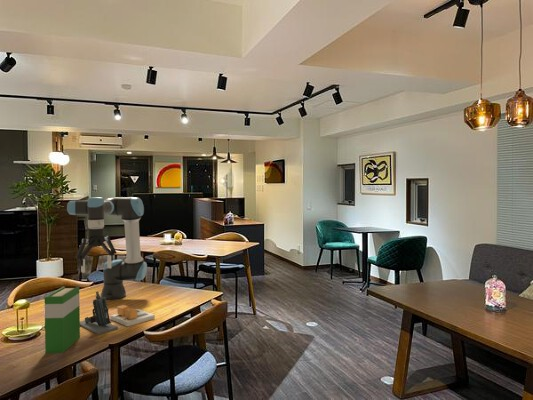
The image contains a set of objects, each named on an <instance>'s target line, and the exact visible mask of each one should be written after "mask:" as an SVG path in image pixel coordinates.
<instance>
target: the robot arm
mask: <svg viewBox="0 0 533 400" xmlns="http://www.w3.org/2000/svg"><path fill="white" fill-rule="evenodd" d="M144 206H145V205H144V204H143V200H142V199H141V198H140V197H134V196H127V197H125V196H124V197H123V196H120V197H119V196H117V197H108V198H104V197H102V196H101V197H98V196H97V197H94V196H93V197H88V198H87V200H69V201H68V203H67V204H66V211H67V213H68V215H71V216H72V215H73V216H87V228H88V229H87V236H88V237H87V238H82V239H81V242H80V245H79V247H78V250H77V251H76V254H75V256H74V258H75V259H78V263H79V264H78V265H79V266H80V273H83V274H84V273H86V259H85V257H86V256H87V254H88V253H89V251H90V250H91V249H92V248H93V247H94V248H98V247H101V248H102V249H103V250H104V251H105V252H106V253H107V254H108V255H106V256H107V257H106V258H107V260H106V262H104V264H103V270H102V272H103V276H102V277H103V286H102V289H101V292H100V297H101V298H103V297H105V299H106V300H116V299H117V300H119V299H122V298H124V297H126V296H127V291H126V288H125V286H124V281H134V282H135V281H136V282H137V281H143V279H144V278H145V277H146V275H147V270H148V269H147V268H148V264H147V262H146V261H144V258H143V257H142V255H141V239H140V220H141V218H142V216H143V215H144V213H145V207H144ZM105 215H106V216H107V215H109V216H118V217H120V218H121V220H122V221H123V222H124V235H125V236H124V239H125V249H126V250H125V252H126V258H125V259H124V260H123V259H114V258H113V257H114V256H115V254H117V250H116V248H115V247H114V245H113V243H112V240H111V237H110V236H108V235H107V236H105V228H104V227H105ZM104 241H105V242H106V243H107V245H106V244H105V243H104ZM87 243H88V244H87ZM86 244H87V245H86Z"/></svg>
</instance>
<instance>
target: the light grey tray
mask: <svg viewBox="0 0 533 400" xmlns="http://www.w3.org/2000/svg"><path fill="white" fill-rule="evenodd" d="M135 309H136V310H137V318H133V319H128V318H126V317H125V315H124V316H121V315H119V314H117V313H115V314H109V318H110V321H111V320H112V321H113V322H117V323H118V324H121V325H123V326H125V327H130V326H134V325H137V324H138V325H139V324H140V323H141V324H142V323H144V322H147V321H151V320H155V318H156V317H155V313H154V314H153V313H150V312H148V311H144V310H143V309H140V308H135Z"/></svg>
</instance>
